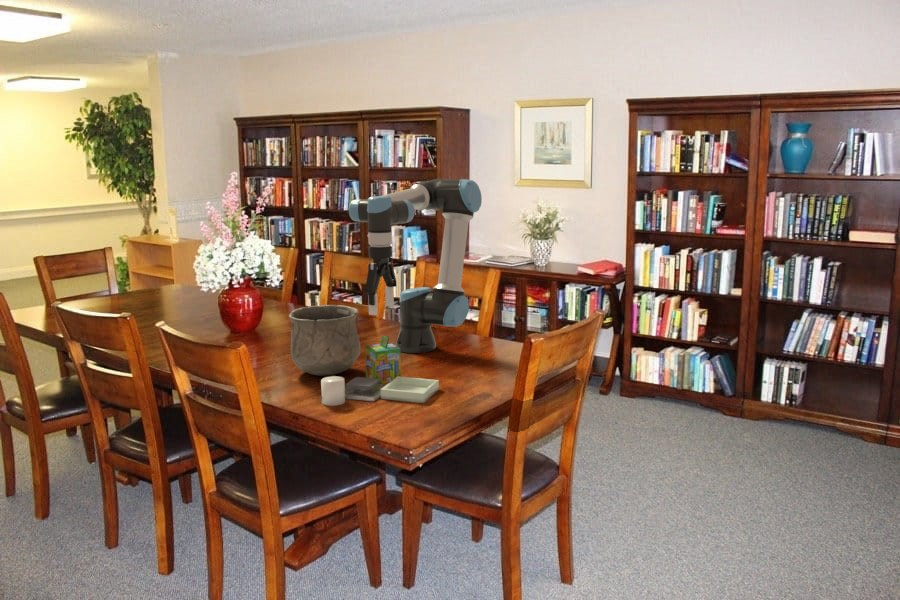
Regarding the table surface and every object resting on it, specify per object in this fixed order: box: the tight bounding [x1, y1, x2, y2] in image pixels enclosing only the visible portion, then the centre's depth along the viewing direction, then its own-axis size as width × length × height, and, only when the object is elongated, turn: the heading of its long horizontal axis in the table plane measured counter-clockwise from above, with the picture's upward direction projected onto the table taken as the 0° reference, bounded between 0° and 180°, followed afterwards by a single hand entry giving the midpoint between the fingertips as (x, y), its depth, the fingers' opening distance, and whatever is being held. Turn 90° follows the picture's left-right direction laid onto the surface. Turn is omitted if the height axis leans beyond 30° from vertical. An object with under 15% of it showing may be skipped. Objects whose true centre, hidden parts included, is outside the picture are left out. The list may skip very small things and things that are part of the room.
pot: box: [288, 304, 361, 377], centre depth 261 cm, size 25×24×21 cm
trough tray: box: [380, 376, 440, 404], centre depth 241 cm, size 14×14×3 cm
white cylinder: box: [320, 375, 346, 407], centre depth 233 cm, size 7×7×7 cm
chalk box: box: [365, 335, 402, 385], centre depth 253 cm, size 9×9×15 cm
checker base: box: [345, 384, 387, 402], centre depth 242 cm, size 13×13×2 cm
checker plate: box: [345, 376, 380, 390], centre depth 241 cm, size 8×8×1 cm
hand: (381, 310), depth 250 cm, fingers open, 13 cm apart
